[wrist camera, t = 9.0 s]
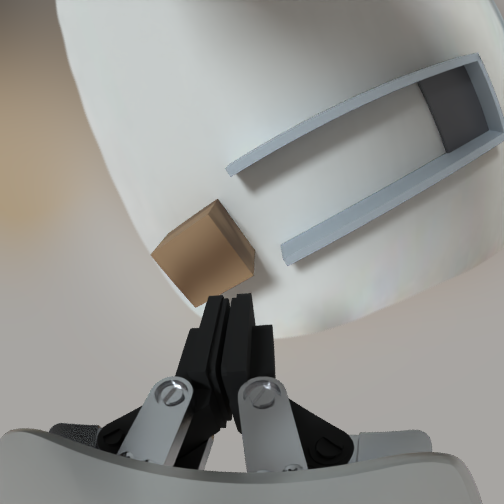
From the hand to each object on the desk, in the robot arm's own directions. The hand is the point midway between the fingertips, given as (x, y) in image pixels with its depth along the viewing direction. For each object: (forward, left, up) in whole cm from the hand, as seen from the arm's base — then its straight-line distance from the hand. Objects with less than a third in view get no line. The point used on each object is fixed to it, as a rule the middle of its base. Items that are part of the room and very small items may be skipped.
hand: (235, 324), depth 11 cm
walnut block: (0, -5, -15) cm, 16 cm away
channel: (0, +15, -15) cm, 21 cm away
